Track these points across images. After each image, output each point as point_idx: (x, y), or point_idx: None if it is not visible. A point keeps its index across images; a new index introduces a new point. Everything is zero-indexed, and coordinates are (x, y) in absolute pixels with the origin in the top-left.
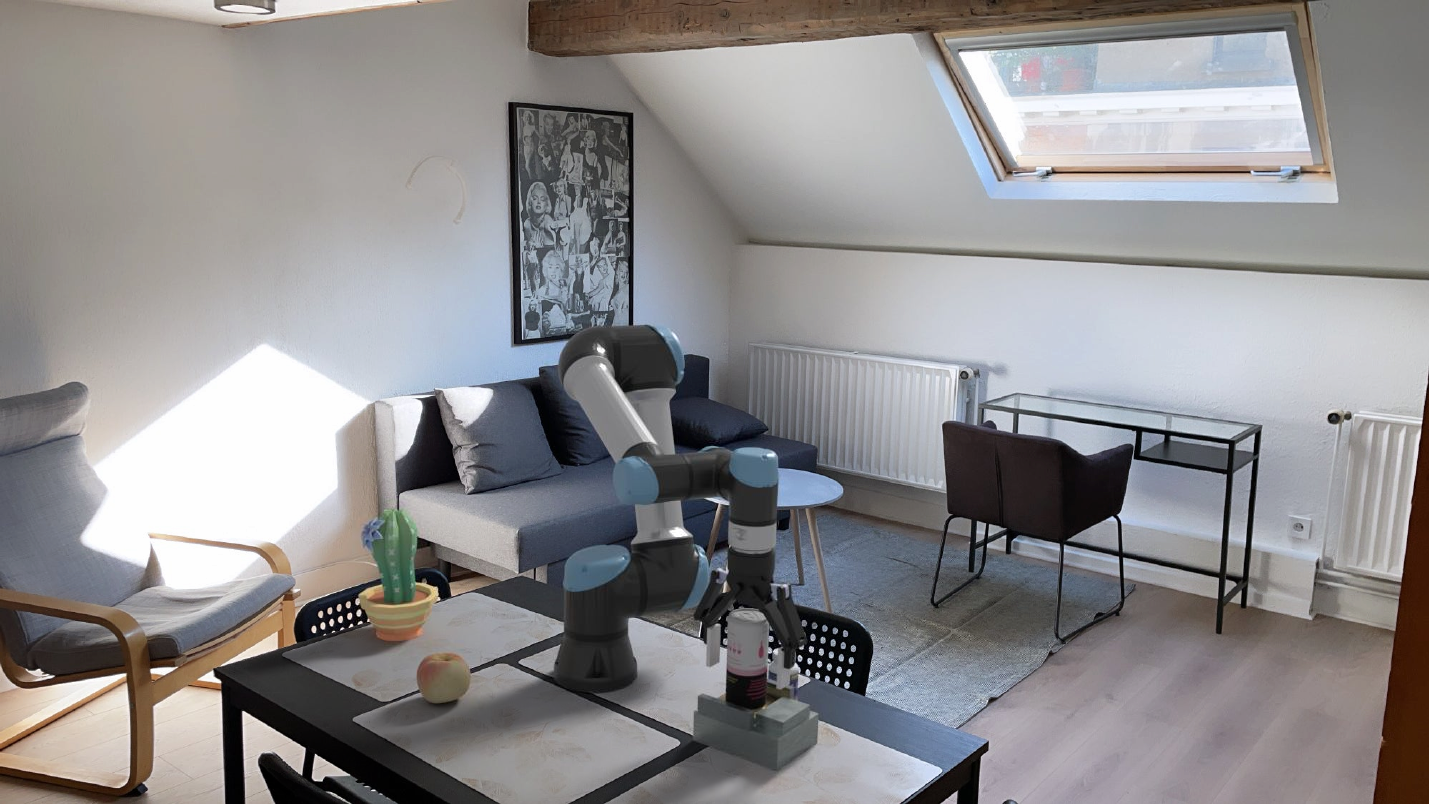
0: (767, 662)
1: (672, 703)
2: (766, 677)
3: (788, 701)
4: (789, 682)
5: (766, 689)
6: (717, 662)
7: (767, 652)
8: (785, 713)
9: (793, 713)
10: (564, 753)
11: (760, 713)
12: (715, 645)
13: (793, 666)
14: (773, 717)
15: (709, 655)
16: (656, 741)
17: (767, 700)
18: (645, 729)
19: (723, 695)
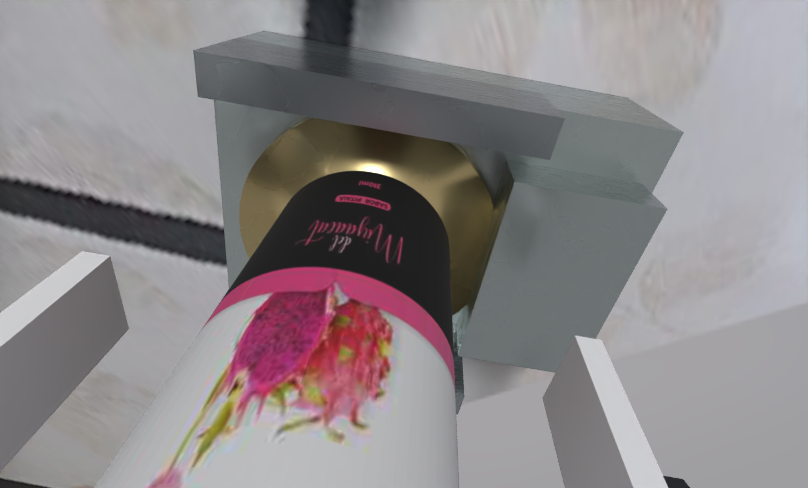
0: (452, 387)
1: (27, 62)
2: (452, 327)
3: (553, 220)
4: (604, 351)
5: (447, 268)
6: (110, 276)
7: (457, 474)
8: (567, 318)
9: (599, 306)
10: (104, 399)
11: (474, 351)
12: (22, 387)
13: (682, 482)
14: (529, 358)
15: (75, 379)
16: (199, 297)
17: (431, 171)
18: (128, 258)
19: (245, 214)
